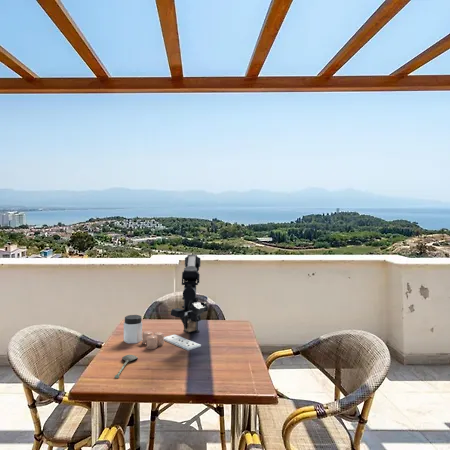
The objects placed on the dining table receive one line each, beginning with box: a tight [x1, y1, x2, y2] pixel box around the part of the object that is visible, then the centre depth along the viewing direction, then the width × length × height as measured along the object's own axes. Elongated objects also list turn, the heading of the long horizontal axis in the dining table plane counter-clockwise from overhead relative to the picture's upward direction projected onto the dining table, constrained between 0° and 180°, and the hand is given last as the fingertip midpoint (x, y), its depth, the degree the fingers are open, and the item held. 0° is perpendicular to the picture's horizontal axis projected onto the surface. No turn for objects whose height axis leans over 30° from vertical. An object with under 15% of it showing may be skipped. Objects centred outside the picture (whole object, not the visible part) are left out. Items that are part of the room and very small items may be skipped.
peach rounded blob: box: [146, 334, 159, 350], centre depth 179 cm, size 5×5×5 cm
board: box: [164, 333, 202, 351], centre depth 186 cm, size 8×21×1 cm, turn 45°
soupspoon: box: [114, 354, 138, 379], centre depth 156 cm, size 22×3×7 cm
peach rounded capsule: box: [153, 331, 165, 347], centre depth 184 cm, size 5×5×5 cm
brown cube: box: [183, 320, 196, 332], centre depth 181 cm, size 4×4×4 cm
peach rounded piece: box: [141, 330, 154, 346], centre depth 185 cm, size 5×5×5 cm
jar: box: [123, 314, 143, 345], centre depth 187 cm, size 9×8×12 cm
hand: (189, 327), depth 181 cm, fingers closed on brown cube, 4 cm apart
